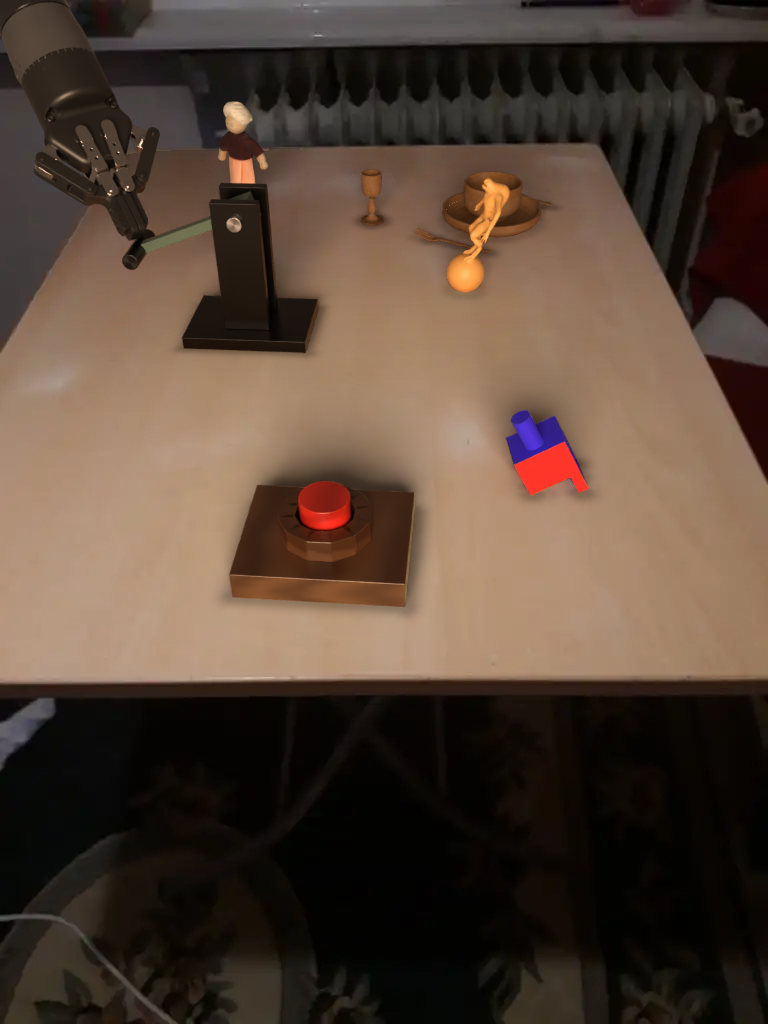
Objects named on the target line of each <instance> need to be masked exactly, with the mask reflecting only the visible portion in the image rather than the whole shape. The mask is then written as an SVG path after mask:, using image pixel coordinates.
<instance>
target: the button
mask: <svg viewBox="0 0 768 1024" xmlns="http://www.w3.org/2000/svg"><path fill="white" fill-rule="evenodd" d="M343 485H344V484H343ZM343 485H341V483H339V482H336V481H330V480H322V481H315V482H311V483H309V484H307V485H306V486H304V487H305V488H303V489H302V491H301V492H300V494H299V497H298V501H299V513H300V520H301V522H302V524H303V525H304V526H305V527H307V528H308V529H310V530H313V531H332V530H335V529H339V528H342V527H344V526H345V525H346V524H347V523H348V522H349V520H350V518H351V502H350V493H349V491H348V489H347V488H346V487H344V486H343Z"/></svg>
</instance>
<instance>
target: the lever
mask: <svg viewBox="0 0 768 1024" xmlns="http://www.w3.org/2000/svg"><path fill="white" fill-rule="evenodd" d="M230 200H254V198H253V195H252V193H251V192H250V191H249V192H247V193H244V194H241V195H239V196H236V197H233V198H230ZM260 216H261V212H260ZM210 231H212V224H211V216H210V215H209V216H206V217H203V218H201V219H198V220H195V221H193V222H190V223H187V224H185V225H182V226H179V227H176V228H173V229H170V230H168V231H164V232H163V233H160V234H157V235H156V234H155V233H154V231H152V230H151V229H149V228H146V232H145V235H144V237H141V238H138V239H135V240H133V242H132V243H131V245H130V246H129V248H128V249H127V251H126V252H125V254H124V255H123V257H122V259H121V263H122V265H123V267H124V268H126V270H129V271H134V270H136V269H138V268H139V266H140V264H141V263H142V261H143V260H144V259H145V257H146V255H147V254H149V253H152V252H155V251H158V250H161V249H164V248H167V247H169V246H172V245H174V244H177V243H180V242H183V241H185V240H189V239H191V238H194V237H197V236H199V235H202V234H205V233H208V232H210Z"/></svg>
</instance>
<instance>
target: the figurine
mask: <svg viewBox="0 0 768 1024" xmlns="http://www.w3.org/2000/svg"><path fill="white" fill-rule="evenodd" d="M482 188H483V189H484V190H485V191H486V193H485V195H484V197H483V199H482V200H481V201H480V203H479V204H478V205H477V206H476V208H475V210H476V211H477V209H478V208H479V209H480V207H481V206H482V204H483V203H484V211H483V213H482V214H481V215H480V216H479V217H478V218H477V219H476V220H475V221H474V222H473V223H472V224H471V225H470V226H469V232H470V234H469V237H470V240H471V241H472V242H473V245H472V246H473V247H472V248H468V249H466V250H464V251H463V252H462V253H459V254H457V255H455V256H454V257H453V258H452V259H451V260H450V261H449V263H448V265H447V268H446V278H447V282H448V284H449V285H450V287H452V288H453V289H454V290H455V291H458V292H461V293H469V292H472V291H475V290H477V288H479V287H480V286H481V284H482V282H483V281H484V277H485V266H484V264H483V262H482V261H481V259H480V258H479V257H478V255H479V254H480V252H482V251H481V250H482V249H483V243H484V244H486V243H487V241H488V239H489V237H488V236H489V234H490V231H491V230H492V228H493V227H494V225H495V224H496V222H497V220H498V218H499V217H500V214H501V209H502V208H503V206H504V205H505V203H506V202H507V200H508V198H509V195H510V190H509V187H508V186H507V185H505V184H501V183H496V182H494V181H493V180H491V179H490V178H486V179H485V180H484V184H483V185H482ZM479 209H478V210H479ZM475 210H474V211H475ZM484 232H486V233H484ZM482 235H484V236H483V237H481V236H482Z"/></svg>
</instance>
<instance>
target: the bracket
mask: <svg viewBox="0 0 768 1024" xmlns="http://www.w3.org/2000/svg"><path fill="white" fill-rule="evenodd" d="M249 191H250V192H251V193H252V195H253V198H254V200H230V198H233V197H236V196H239V195H241V194H244V193H247V192H249ZM218 193H219V198H211V199H210V201H209V202H208V208H209V216H211V224H212V230H211V231H212V240H213V247H214V255H215V262H216V269H217V276H218V286H219V292H220V295H212V294H211V295H209V294H204V295H202V297H201V300H200V302H199V303H198V306H197V308H196V309H195V311H194V313H193V315H192V317H191V319H190V321H189V323H188V325H187V327H186V329H185V331H184V333H183V335H182V337H181V341H182V347H183V349H190V350H216V351H219V350H220V351H243V352H267V353H268V352H269V353H295V354H304V353H305V354H306V352H307V350H308V345H309V342H310V338H311V336H312V332H313V329H314V325H315V322H316V319H317V317H318V316H317V315H318V312H319V309H320V308H319V299H318V298H302V297H278V292H277V291H278V290H277V289H278V288H277V279H276V268H275V257H274V246H273V245H274V244H273V235H272V234H273V233H272V224H271V223H272V222H271V212H270V201H269V200H270V199H269V190H268V183H256V184H255V183H231V182H220V184H219V185H218ZM260 212H261V216H260Z"/></svg>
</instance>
